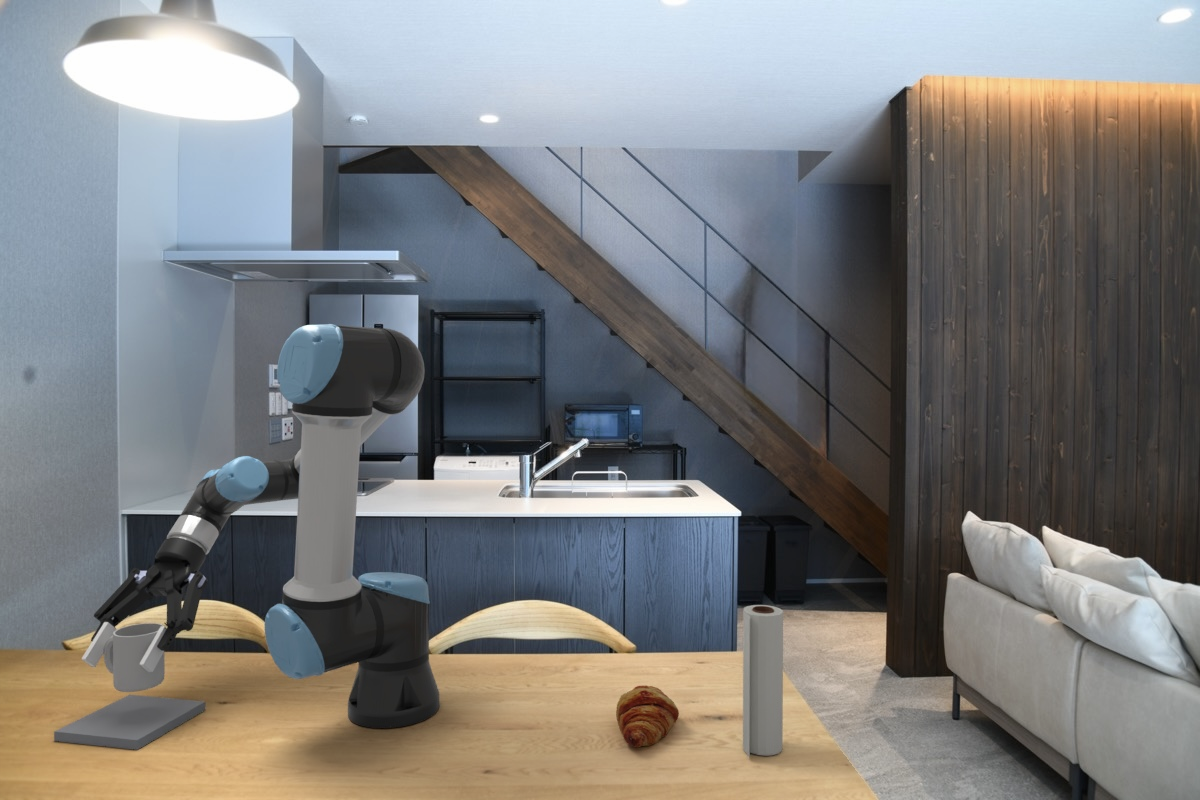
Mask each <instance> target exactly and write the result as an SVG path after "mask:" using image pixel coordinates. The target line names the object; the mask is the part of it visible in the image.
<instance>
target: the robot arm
mask: <svg viewBox="0 0 1200 800" xmlns="http://www.w3.org/2000/svg"><path fill="white" fill-rule="evenodd" d="M425 370H426V369H425V363H424V359H423V356H422V353H421V351H420V349H419V348H418V347H417V344H415V342H414V341H412V340H411V338H410V337H408V336H406V335H405V334H403V333H402V332H399V331H398V330H396V329H391V328H384V327H365V326H354V325H353V326H352V325H351V326H350V325H339V324H332V323H328V324H307V325H303V326H300V327H298V328H297V329H295V330H294V331H293V332H292V333H291V334H290V335H289V337H288V338H287V339H286V340H285V342H284V344H283V346H282V348H281V350H280V353H279V357H278V362H277V368H276V378H277V383H278V385H280V386H279V388H278V389H279V392H280V394H281V395H282V397H283V398H284V399H285V400H287V401H288V402H290V403H291V405H292V408H291V410H292V411H291V413H292V414H293V415H294V416H295V417H296V418H297V419H298V420H299V421H300V423H301V436H300V437H301V438H300V449H299V450H298V451H297V452H296V454H295V455H293V456H292V457H291V458H290V459H283V460H271V461H261V460H260V459H258V458H254V457H252V456H249V455H242V456H239V457H236V458H234V459H233V460H231V461H229V462H226V463H225V464H224V465H223V466H222V467H221V468H218V469H211V470H208V471H207V473H205V475H203V477H202V479H201V481H199V482H198V483H197V485H196V488H195V490H194V492H193V493H192V495H191V497H190V499H189V500H188V502H187V503H186V505H185V506H184V508H183V509H182V512H181V513H180V515H179V517H178V518H177V520H176V521H175V523H174V525H173V526H172V527H171V529H170V530H169V532H168V534H167V536H166V539H164V541H163V542H162V543H161V546H159V549H158V550H157V552H156V554H155V555H154V563H153V565H152V566H151V567H149V568H148V570H140V569H139V568H137V567H134V568H132V569H131V571H130V572H129V574H128V576H127V578H126V579H125V580H124V581H123V582H122V584H121V585H119V586H118V588H116V590H115V591H114V592H113V593H112V594H111V595H110V596H109V598H108V599H107V600H105V602H104V603H103V604H102V605H101V606H100V607H99V608H98V609H97V610H96V611H95V612H94V614H93V617H94V618H95V619H96V620H98V622H100V623H99V625H98V627H97V628H96V630H95V632H94V633H93V635H92V636H91V639H90V641H91V642H90V645H89V646H88V647H87V648H86V651H85V652H84V654H83V655H82V657H81V660H82V661H83V662H84V663H86V664H87V665H88V666H90V667H92V668H96V667H97V665H98V663H99V662H100V660H101V658H103V657H102V656H104V647H105V644H106V642H107V640H108V639H109V638H110V637H111V636H112V635H113V632H114V631H115V630H117V628H116V627H117V626H118V625H119V624H120V623H121V622H123V621H124V620H125V619H126V618H128V616H130V615H131V614H132V613H134V612H135V611H136V610H137V609H138V608H140V607H141V606H142V605H144V603H146V602H147V601H151V600H153V599H154V598H155V597H161V596H164V597H166V621H165V622H164V626H161V627H160V628H159V630H158V632H157V634H156V635H155V637H154V639H153V641H152V642H151V644H150V646H149V648H148V650H147V651H146V653H145V655H144V657H143V658H142V660H141V662H140V665H141V666H142V667H143V668H144V669H146V670H147V671H148V672H153V671H154V669H155V667H156V665H157V663H158V662H159V660H160V658H161V656H162V654H163V652H164V653H165V652H167V651H168V650H169V649H170V647H171V646H172V644H173V642H174V641H175V639H176V636H177V635H178V634H180V633H181V632H183V631H186V632H190V631H191V630H192V629H193V628H194V625H195V620H196V616H197V613H198V609H199V605H200V600H201V597H202V593H203V590H204V589H205V588H206V586H207V584H208V581H209V580H208V579H207V577H205V575H204V574H203V573H202V572H201V571H200V569H201V567H202V565H203V564H204V562H205V560H206V559H207V555H208V554H209V553H210V551H211V549H212V547H213V545H214V544H215V542H216V540H217V539H218V537H219V535H220V534H221V531H222V530H223V528H224V527H225V525H226V523H227V521H228V519H229V518H230V516H231V515H232V514H234V513H235V512H238V510H240V509H241V508H242V507H244V506H247V505H253V504H254V505H255V504H262V503H263V504H264V503H271V502H278V501H288V500H290V501H291V500H297V511H296V512H297V516H296V534H295V538H296V539H295V551H294V553H295V555H294V574H293V575H294V576H293V577H291V579H289V580H288V581H287V582H286V583H285V584H283V587H282V601H281V603H277V604H274V606H272V607H270V608H269V610H268V611H267V613H266V615H265V617H264V618H265V619H264V635H265V636H264V637H265V642H266V645H267V649H268V652H269V654H270V656H271V657H272V660H273V662H274V664H275V665H276V666H277V668H278V669H279V670H280V671H281V672H282V673H283V674H284V675H285V676H287V677H289V678H291V679H293V680H302V679H305V678H309V677H314V676H315V677H319V676H322V675H323V674H325V673H328V672H331V671H335V670H338V669H340V668H344V667H347V666H350V665H353V664H356V663H357V664H358V669H357V672H356V675H355V678H354V682H353V684H352V687H351V691H350V694H349V697H348V699H347V716H348V719H349V720H350V722H352V723H354V724H356V725H358V726H361V727H366V728H371V729H390V728H391V729H393V728H400V727H406V726H410V725H415V724H417V723H420V722H423V721H425V720H427V719H429V718H432V717H433V716H434V715H436V713H437V712H438V711H439V709H440V691H439V690H440V689H439V687H438V685H437V682H436V679H435V676H434V673H433V670H432V666H431V664H430V620H429V619H430V605H431V604H430V603H431V601H430V596H429V585H428V582H427V581H426V580H425V578H423V577H421V576H419V575H415V574H409V573H403V572H393V571H391V572H390V571H387V572H385V571H383V572H382V571H381V572H380V571H379V572H367V573H363V574H361V575H359V576H358V579H357V578H356V577H355V576H354V575H353V571H354V570H353V569H354V554H355V539H356V537H355V535H356V519H357V502H358V501H357V500H358V485H359V484H358V483H359V469H360V468H359V467H360V453H361V452H360V451H361V450H360V449H361V446H362V445H363V444H364V443H365V441H367V440H368V439H369V438H370V436H371V435H373V433H374V432H375V431H376V430H377V429H378V428H379V427H380V426H381V425H383V424H384V422H385V421H386V420H387V419H389V417H390V416H394V415H395V416H396V415H398V414H401V413H402V412H404V410H405V409H406V408H407V407H408V406H409V405H411V403H412V402H413V401H414V400H415V399H416V397H417V396H418V394H419V393H420V391H421V388H422V387H423V386H422V385H423V383H424V379H425ZM186 586H187V588H186V591H185V595H184V588H185V587H186ZM146 589H147V590H148V591H147V590H146ZM182 600H183V603H182ZM112 618H113V619H112ZM165 625H166V626H165Z"/></svg>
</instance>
